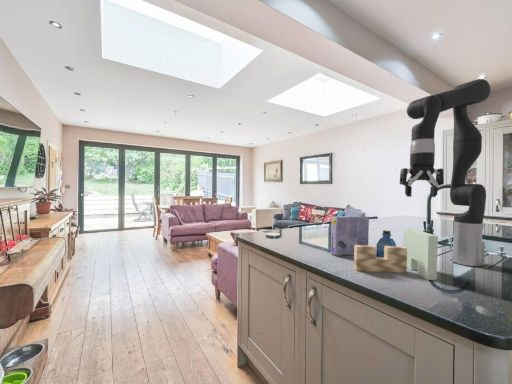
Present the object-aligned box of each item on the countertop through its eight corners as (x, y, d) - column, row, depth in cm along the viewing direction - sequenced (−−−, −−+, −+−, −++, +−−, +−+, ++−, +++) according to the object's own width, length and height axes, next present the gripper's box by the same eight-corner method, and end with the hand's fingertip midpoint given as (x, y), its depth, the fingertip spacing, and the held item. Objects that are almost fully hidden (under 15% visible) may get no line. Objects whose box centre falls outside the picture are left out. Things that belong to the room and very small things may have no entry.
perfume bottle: (395, 258, 112) (396, 231, 112) (391, 260, 108) (392, 232, 107) (380, 255, 116) (381, 229, 116) (376, 257, 112) (376, 230, 111)
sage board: (410, 265, 102) (412, 228, 101) (436, 280, 86) (437, 236, 85) (403, 265, 102) (404, 228, 101) (427, 279, 86) (428, 235, 85)
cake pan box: (363, 251, 123) (364, 215, 123) (370, 253, 119) (371, 216, 118) (329, 253, 117) (330, 216, 117) (336, 256, 112) (337, 217, 112)
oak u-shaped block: (402, 270, 96) (403, 246, 95) (406, 272, 93) (407, 248, 92) (353, 268, 97) (354, 244, 97) (356, 270, 94) (356, 246, 94)
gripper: (436, 154, 96) (434, 196, 96) (397, 153, 97) (395, 196, 97) (449, 151, 88) (448, 197, 89) (407, 151, 89) (406, 196, 90)
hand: (420, 196), depth 93 cm, fingers open, 8 cm apart
